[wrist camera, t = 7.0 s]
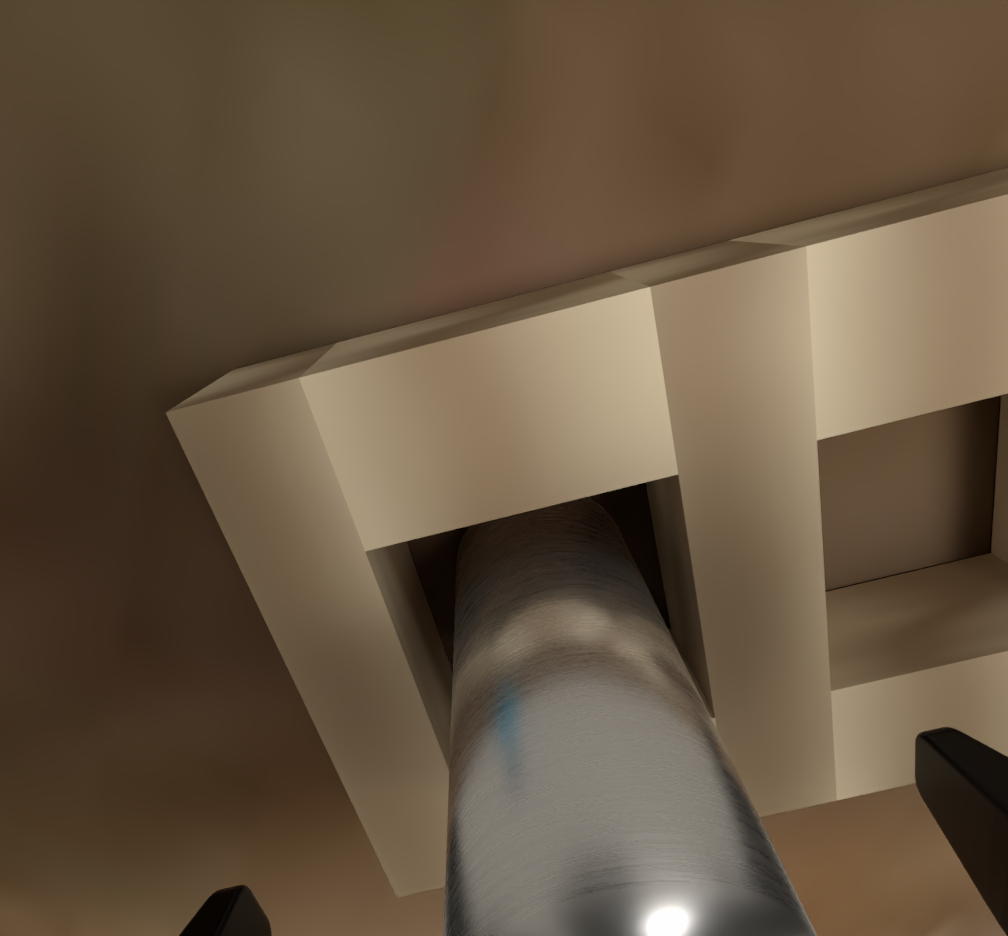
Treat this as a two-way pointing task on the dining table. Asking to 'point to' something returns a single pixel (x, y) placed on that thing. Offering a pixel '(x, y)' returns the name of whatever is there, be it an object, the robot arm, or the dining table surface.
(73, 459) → the dining table surface
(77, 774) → the dining table surface
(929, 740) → the robot arm
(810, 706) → the frame
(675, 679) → the grey cylinder
